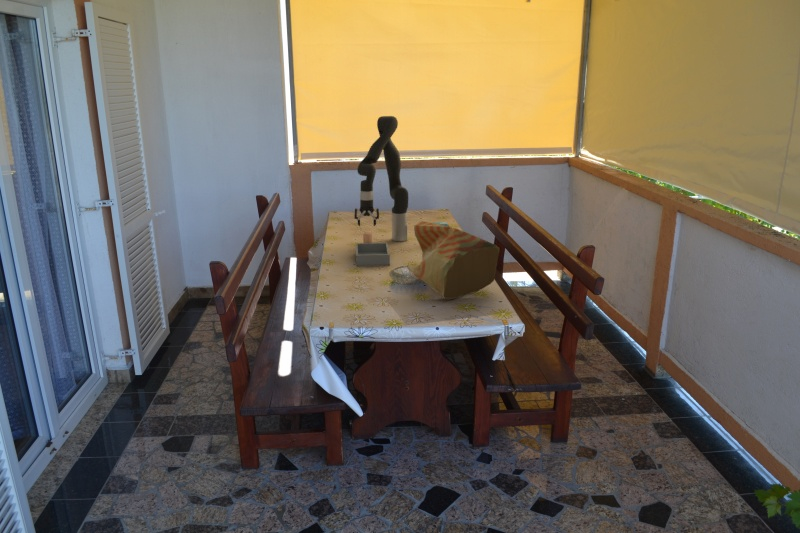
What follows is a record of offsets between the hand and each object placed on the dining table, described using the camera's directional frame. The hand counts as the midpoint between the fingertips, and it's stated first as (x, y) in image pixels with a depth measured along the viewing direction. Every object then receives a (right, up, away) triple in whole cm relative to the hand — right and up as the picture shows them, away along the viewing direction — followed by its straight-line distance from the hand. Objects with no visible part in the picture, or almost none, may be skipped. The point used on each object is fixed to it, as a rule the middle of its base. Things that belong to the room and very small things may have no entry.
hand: (366, 225), depth 372 cm
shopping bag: (+44, -34, -61) cm, 83 cm away
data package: (+43, -9, +16) cm, 46 cm away
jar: (0, -13, +4) cm, 14 cm away
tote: (+4, -20, -17) cm, 26 cm away
